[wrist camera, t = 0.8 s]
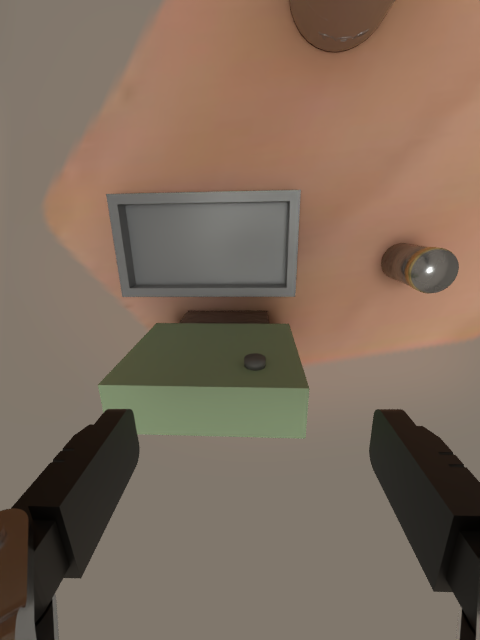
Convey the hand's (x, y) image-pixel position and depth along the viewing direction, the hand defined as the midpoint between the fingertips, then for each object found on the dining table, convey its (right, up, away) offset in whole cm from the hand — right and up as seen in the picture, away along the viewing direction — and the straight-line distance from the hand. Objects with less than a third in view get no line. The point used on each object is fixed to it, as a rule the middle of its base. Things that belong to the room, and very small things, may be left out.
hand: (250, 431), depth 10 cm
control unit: (-2, +3, +27) cm, 27 cm away
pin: (+18, +10, +23) cm, 31 cm away
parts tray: (-4, +12, +24) cm, 27 cm away
